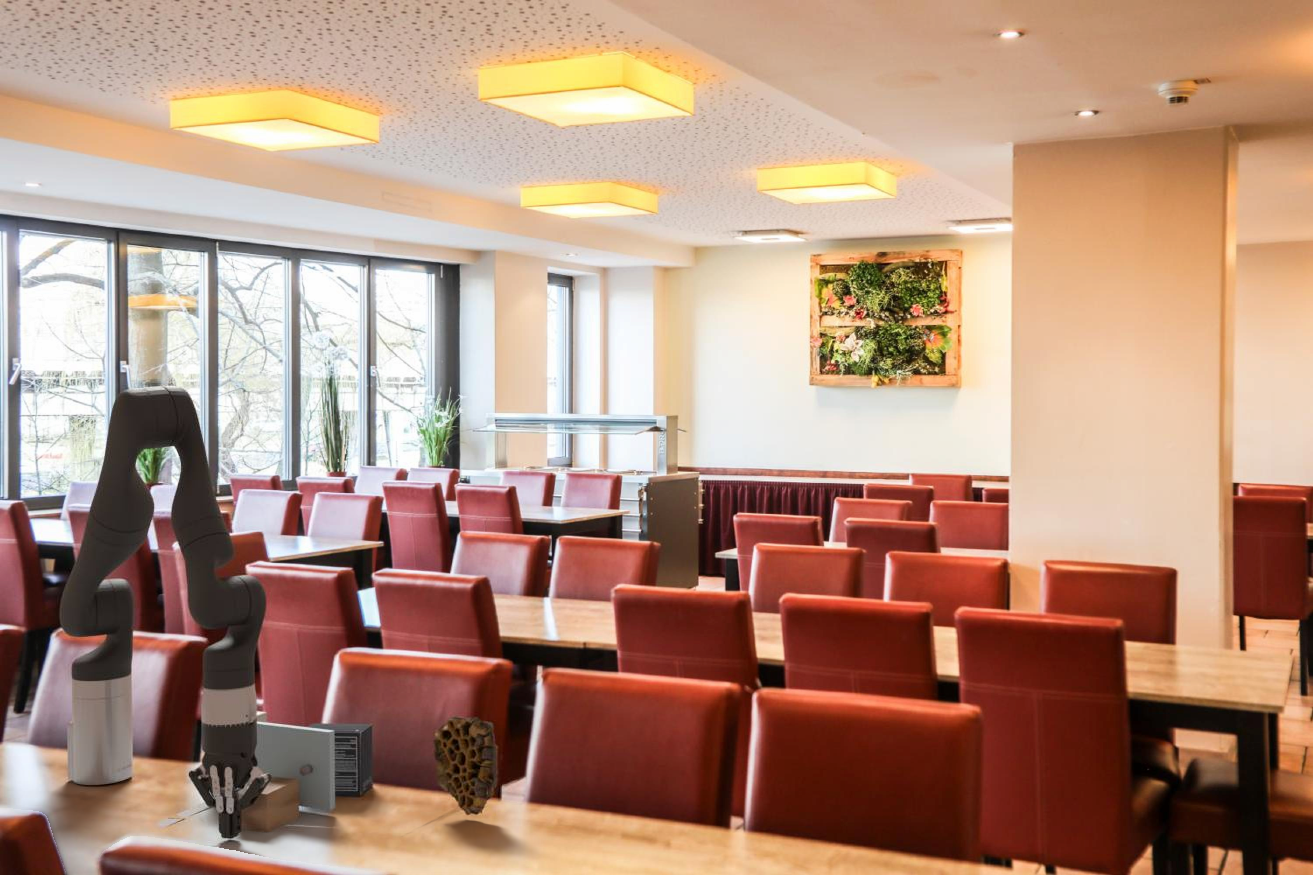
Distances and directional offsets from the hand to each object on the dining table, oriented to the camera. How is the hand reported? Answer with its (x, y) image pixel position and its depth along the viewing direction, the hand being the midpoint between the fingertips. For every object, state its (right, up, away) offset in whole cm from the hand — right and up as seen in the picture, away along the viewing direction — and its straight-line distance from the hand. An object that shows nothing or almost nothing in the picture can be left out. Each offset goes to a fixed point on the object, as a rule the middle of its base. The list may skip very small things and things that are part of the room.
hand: (230, 836), depth 182 cm
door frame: (-10, -1, +15) cm, 18 cm away
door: (+3, 0, +16) cm, 16 cm away
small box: (+9, -1, +26) cm, 27 cm away
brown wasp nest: (+32, -1, +13) cm, 34 cm away
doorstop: (+3, -1, +9) cm, 9 cm away
